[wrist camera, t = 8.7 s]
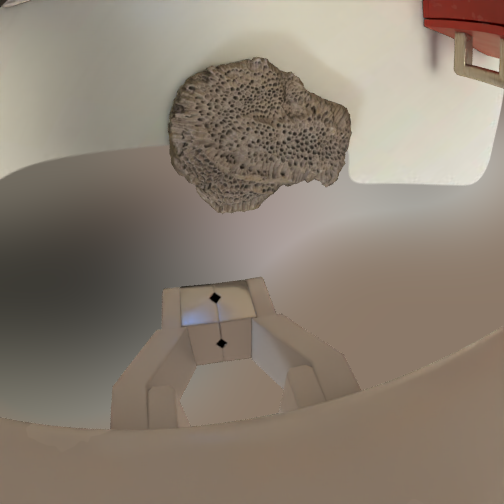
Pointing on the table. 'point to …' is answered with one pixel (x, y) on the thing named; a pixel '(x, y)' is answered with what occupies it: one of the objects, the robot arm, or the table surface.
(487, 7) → the cabinet
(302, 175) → the rock
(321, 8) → the table surface
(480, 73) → the door
